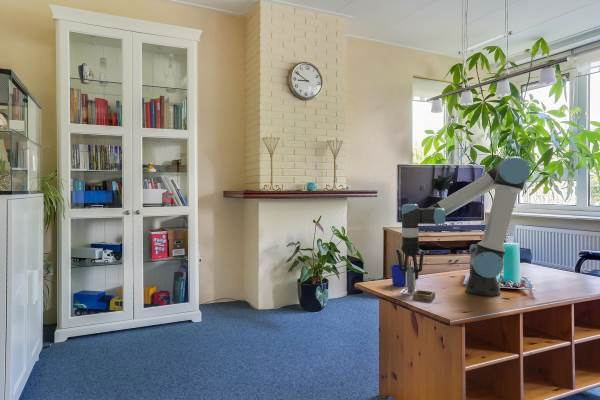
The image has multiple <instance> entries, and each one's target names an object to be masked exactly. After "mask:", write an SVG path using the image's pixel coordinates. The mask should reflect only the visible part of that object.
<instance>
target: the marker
mask: <svg viewBox="0 0 600 400" xmlns="http://www.w3.org/2000/svg"><path fill="white" fill-rule="evenodd" d="M407 267H408V268H407V275H408V286H406V287H407V288H406V289H407V292H415V290H416V286H415V287H413V273H414V272H415V270H414V265H408V266H407Z"/></svg>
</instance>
